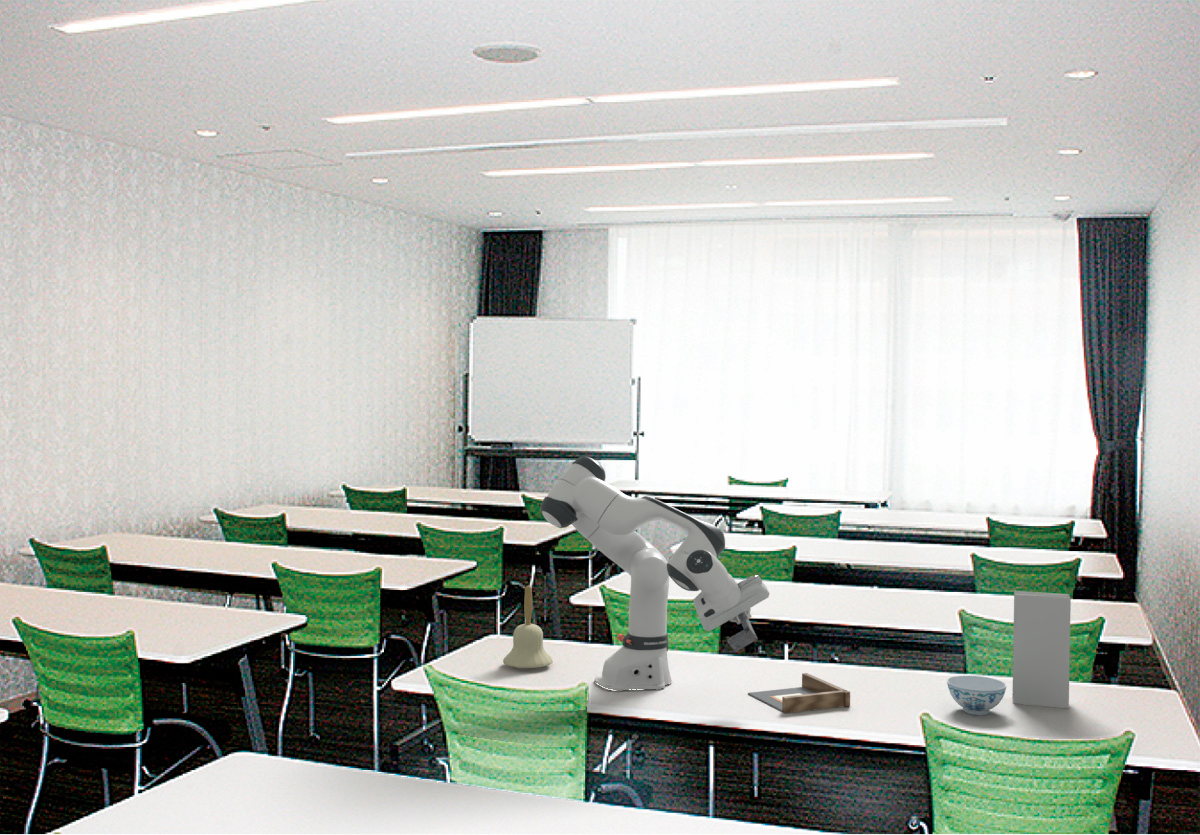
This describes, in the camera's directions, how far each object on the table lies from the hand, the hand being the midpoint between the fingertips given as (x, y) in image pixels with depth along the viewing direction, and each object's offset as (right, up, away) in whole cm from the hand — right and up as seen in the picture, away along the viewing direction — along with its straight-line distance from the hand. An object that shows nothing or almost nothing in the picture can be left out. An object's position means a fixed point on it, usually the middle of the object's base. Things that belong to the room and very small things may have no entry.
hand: (744, 618), depth 306 cm
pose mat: (+14, -23, +1) cm, 26 cm away
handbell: (-62, -21, +36) cm, 74 cm away
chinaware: (+61, -23, -9) cm, 66 cm away
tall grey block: (+81, -23, -1) cm, 84 cm away
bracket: (-1, -5, -6) cm, 8 cm away
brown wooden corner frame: (+15, -23, +1) cm, 27 cm away
